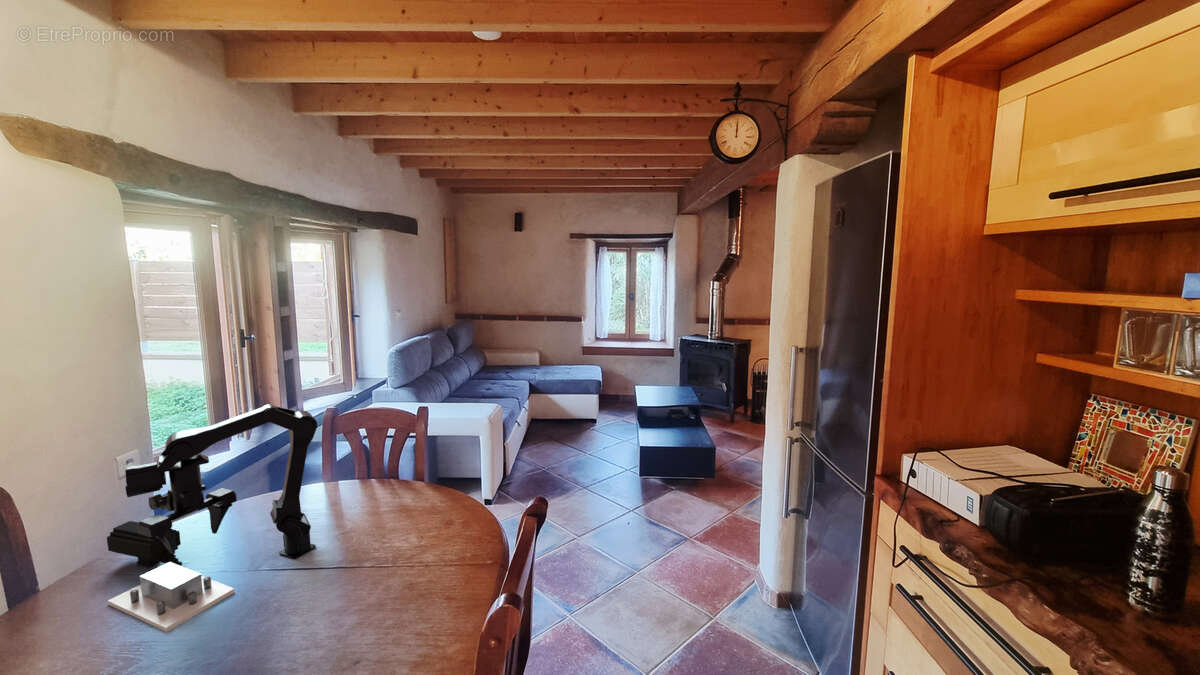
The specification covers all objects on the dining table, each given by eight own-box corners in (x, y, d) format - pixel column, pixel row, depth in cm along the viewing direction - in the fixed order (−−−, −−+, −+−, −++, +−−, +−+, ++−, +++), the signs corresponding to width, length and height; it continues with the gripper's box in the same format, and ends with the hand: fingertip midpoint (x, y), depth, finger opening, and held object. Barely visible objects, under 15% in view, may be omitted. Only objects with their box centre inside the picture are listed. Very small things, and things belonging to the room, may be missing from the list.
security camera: (163, 578, 122) (158, 541, 121) (108, 566, 126) (103, 531, 125) (191, 562, 129) (187, 527, 127) (138, 551, 133) (134, 517, 132)
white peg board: (234, 592, 118) (233, 579, 117) (166, 631, 105) (164, 617, 104) (178, 570, 126) (176, 557, 125) (108, 604, 113) (106, 590, 112)
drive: (202, 593, 116) (201, 573, 115) (173, 609, 110) (171, 589, 110) (171, 580, 120) (169, 561, 119) (142, 595, 114) (139, 576, 114)
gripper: (206, 463, 129) (213, 518, 131) (117, 495, 111) (127, 557, 114) (235, 470, 125) (241, 526, 127) (147, 504, 107) (157, 567, 110)
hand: (194, 542), depth 120 cm, fingers open, 9 cm apart
